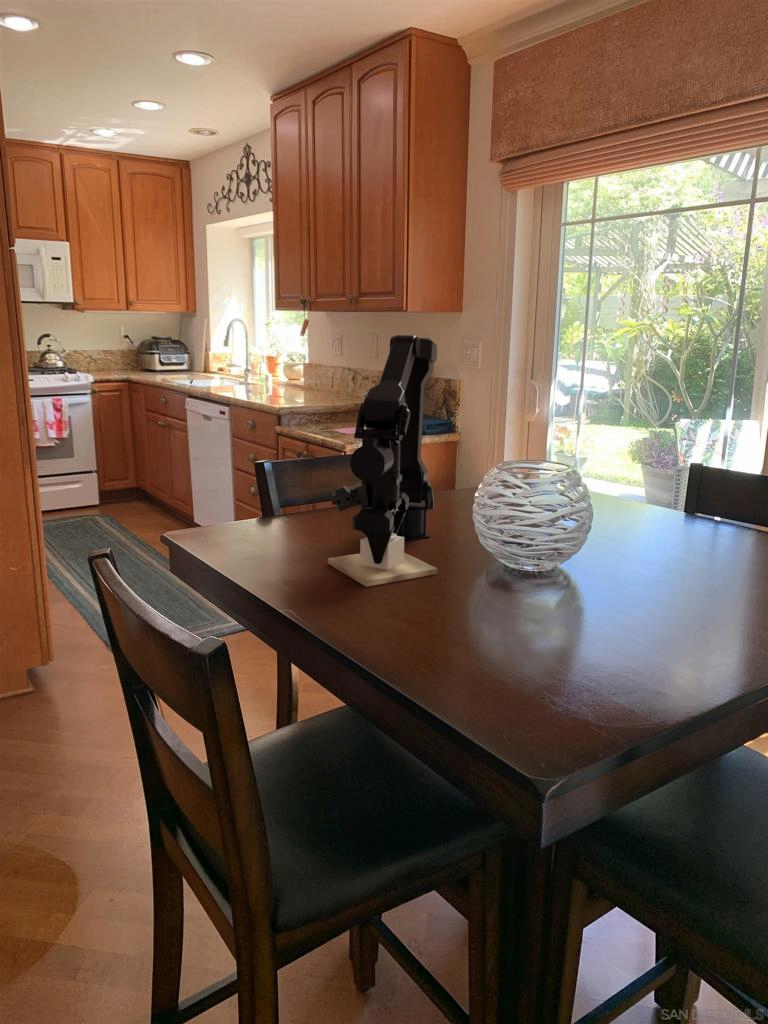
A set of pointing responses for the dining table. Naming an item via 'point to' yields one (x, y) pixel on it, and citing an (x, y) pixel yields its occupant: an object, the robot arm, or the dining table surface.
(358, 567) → the stud plate
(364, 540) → the white domed square block
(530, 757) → the dining table surface
